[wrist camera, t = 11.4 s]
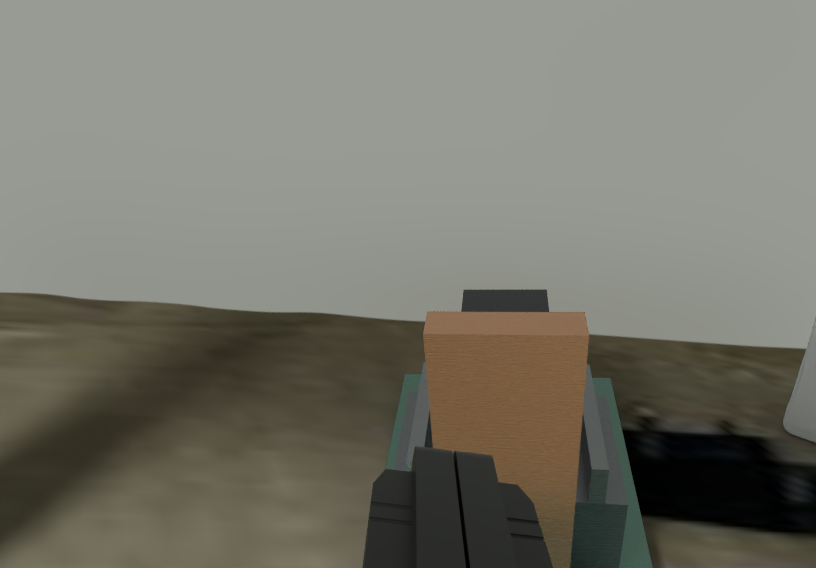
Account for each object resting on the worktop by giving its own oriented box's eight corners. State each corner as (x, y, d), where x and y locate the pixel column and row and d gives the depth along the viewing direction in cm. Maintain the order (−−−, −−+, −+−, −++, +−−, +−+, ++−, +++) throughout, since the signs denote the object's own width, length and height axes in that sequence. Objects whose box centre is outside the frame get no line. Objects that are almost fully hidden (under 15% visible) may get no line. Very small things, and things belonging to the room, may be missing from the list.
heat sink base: (321, 804, 27) (260, 638, 21) (406, 385, 51) (391, 245, 44) (709, 855, 25) (782, 685, 18) (609, 389, 48) (624, 242, 42)
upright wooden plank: (447, 614, 32) (422, 333, 23) (460, 450, 42) (447, 206, 33) (565, 624, 31) (589, 335, 22) (551, 454, 41) (563, 204, 32)
